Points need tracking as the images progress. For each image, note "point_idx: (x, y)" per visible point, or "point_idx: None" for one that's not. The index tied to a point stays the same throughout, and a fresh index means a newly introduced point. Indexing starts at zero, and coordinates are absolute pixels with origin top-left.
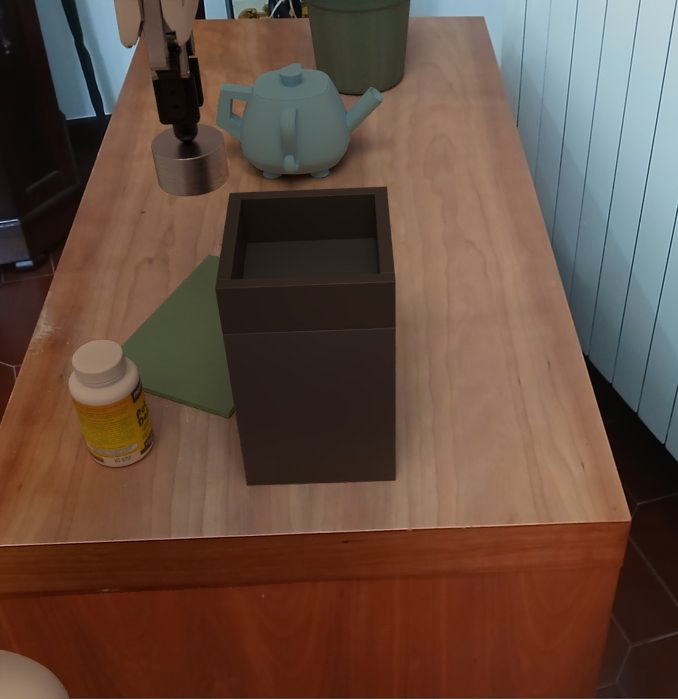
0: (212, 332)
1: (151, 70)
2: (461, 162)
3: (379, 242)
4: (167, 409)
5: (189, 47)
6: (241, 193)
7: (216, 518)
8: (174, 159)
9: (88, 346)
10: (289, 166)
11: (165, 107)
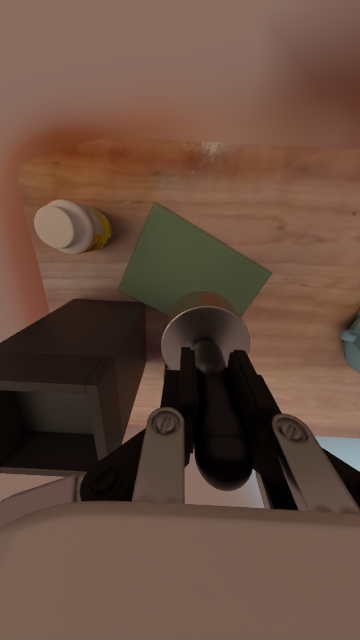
0: (186, 279)
1: (11, 496)
2: (323, 413)
3: (35, 470)
4: (125, 254)
5: (260, 484)
6: (95, 395)
7: (52, 284)
8: (163, 335)
9: (62, 218)
10: (343, 336)
11: (165, 377)
